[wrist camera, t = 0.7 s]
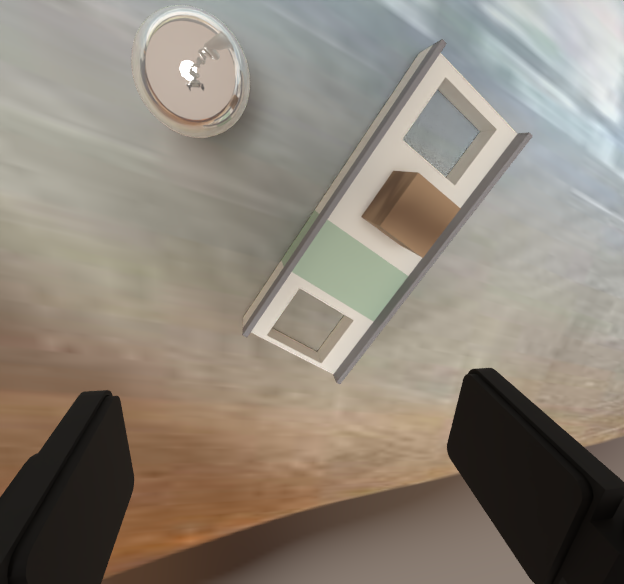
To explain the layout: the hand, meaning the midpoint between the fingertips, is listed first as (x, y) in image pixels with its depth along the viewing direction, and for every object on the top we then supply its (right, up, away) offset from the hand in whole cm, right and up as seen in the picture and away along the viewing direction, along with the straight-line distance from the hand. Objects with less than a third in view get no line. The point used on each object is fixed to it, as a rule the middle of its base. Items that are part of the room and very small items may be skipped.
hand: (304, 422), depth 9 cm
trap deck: (+6, +10, +26) cm, 29 cm away
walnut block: (+8, +11, +24) cm, 27 cm away
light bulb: (-9, +20, +20) cm, 30 cm away
